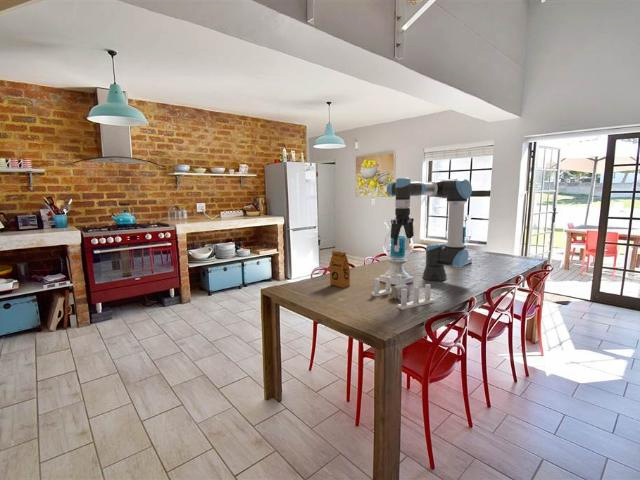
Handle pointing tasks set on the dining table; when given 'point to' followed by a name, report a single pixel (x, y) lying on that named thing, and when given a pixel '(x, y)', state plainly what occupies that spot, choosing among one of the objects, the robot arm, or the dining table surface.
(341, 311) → the dining table surface
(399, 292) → the ceramic mug
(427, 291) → the rack
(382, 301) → the dining table surface
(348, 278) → the coffee package
